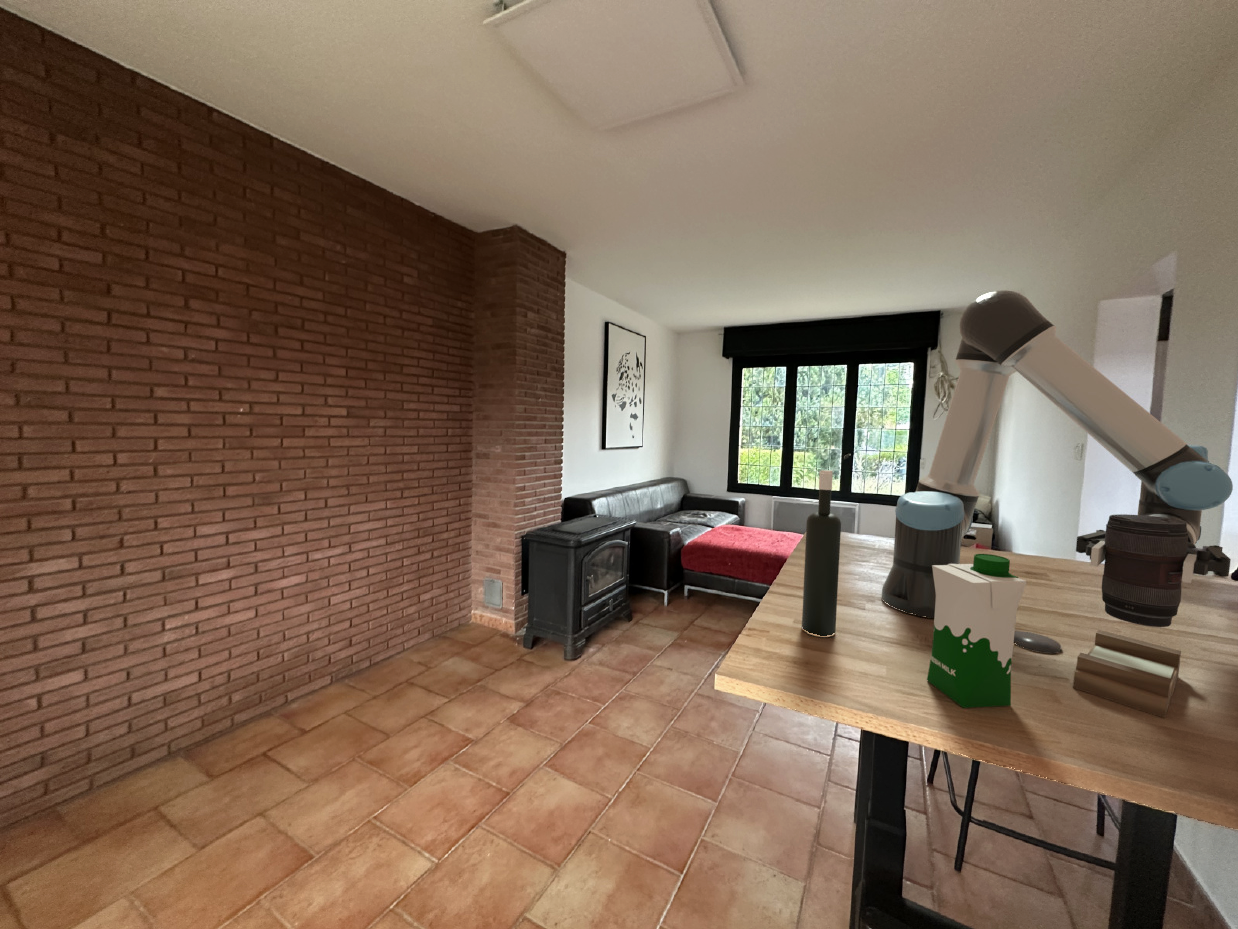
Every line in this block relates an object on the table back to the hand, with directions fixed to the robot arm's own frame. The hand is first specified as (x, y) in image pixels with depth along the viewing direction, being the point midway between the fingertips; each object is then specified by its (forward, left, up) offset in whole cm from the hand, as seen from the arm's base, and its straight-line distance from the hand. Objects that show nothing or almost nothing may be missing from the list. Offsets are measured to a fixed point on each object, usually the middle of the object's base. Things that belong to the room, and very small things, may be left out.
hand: (1138, 564), depth 68 cm
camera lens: (+2, +4, -9) cm, 10 cm away
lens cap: (-6, +14, -20) cm, 25 cm away
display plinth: (+2, +4, -19) cm, 20 cm away
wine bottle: (-41, +4, -19) cm, 45 cm away
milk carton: (-21, -9, -19) cm, 30 cm away
